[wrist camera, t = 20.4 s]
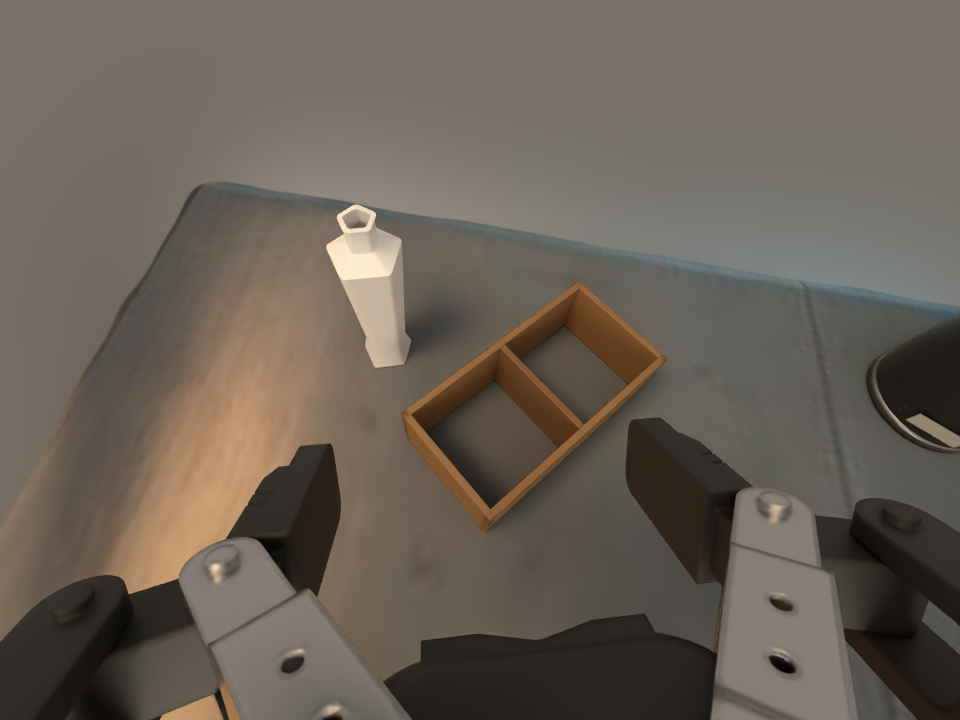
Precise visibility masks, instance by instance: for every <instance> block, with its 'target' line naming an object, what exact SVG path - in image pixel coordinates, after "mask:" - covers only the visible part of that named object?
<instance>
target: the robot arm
mask: <svg viewBox="0 0 960 720" xmlns="http://www.w3.org/2000/svg"><path fill="white" fill-rule="evenodd" d="M868 386H869V391H870V394H871V397H872V399H873V401H874V403H875V405H876V407H877V408H878V410H879V411H880V413H881V414H882V415H883V417H884V418H885V419H886V420H887V421H888V422H889V423H890V424H891V425H892V426H893V427H894V428H895V429H896V430H897V431H898V432H900V433H901V434H902V435H904V436H905V437H906V438H908V439H909V440H911V441H913V442H915V443H916V444H918V445H921V446H923V447H925V448H928V449H931V450H934V451H938V452H944V453H959V452H960V313H958V314H957V315H955V316H953V317H951V318H949V319H948V320H946V321H944V322H942V323H941V324H939V325H937V326H935V327H934V328H932V329H930V330H928V331H926V332H925V333H923V334H921V335H919V336H917V337H915V338H914V339H912V340H910V341H908V342H907V343H905V344H903V345H901V346H900V347H898V348H896V349H892V350H890V351H888V352H886V353H885V354H883V355H881V356H879V357H878V358H877V359H876V360H875V361H874V362H873V363H872V365H871V367H870V369H869V373H868ZM626 481H627V485H628V488H629V490H630V492H631V494H632V495H633V497H634V498H635V499H636V501H637V502H638V504H639V505H640V506H641V508H642V509H643V510H644V512H645V513H646V515H647V516H648V517H649V519H650V520H651V522H652V523H653V524H654V526H655V527H656V528H657V530H658V531H659V533H660V534H661V535H662V537H663V538H664V539H665V541H666V542H667V544H668V545H669V546H670V548H671V549H672V550H673V552H674V553H675V555H676V556H677V557H678V559H679V560H680V561H681V563H682V564H683V566H684V567H685V568H686V570H687V571H688V572H689V574H690V575H691V577H692V578H693V579H694V581H695V582H696V583H697V584H701V583H709V582H719V583H720V584H721V585H722V588H721V595H720V601H719V609H718V616H717V624H716V632H715V639H714V647H713V651H711V650H709V649H707V648H705V647H703V646H701V645H698V644H696V643H694V642H691V641H688V640H685V639H682V638H679V637H676V636H671V635H667V634H662V633H655V631H654V629H653V627H652V626H651V624H650V622H649V620H648V618H647V616H646V615H645V614H637V615H629V616H621V617H612V618H604V619H596V620H591V621H588V622H585V623H583V624H580V625H578V626H575V627H573V628H570V629H567V630H565V631H562V632H560V633H557V634H555V635H552V636H549V637H547V638H544V639H540V640H530V639H521V638H511V637H502V636H493V635H484V634H473V635H464V636H456V637H448V638H440V639H431V640H423V641H421V661H420V662H418V663H415V664H413V665H410V666H408V667H406V668H404V669H402V670H401V671H399V672H397V673H395V674H394V675H392V676H391V677H389V678H388V679H386V680H385V681H383V682H382V680H381V679H380V678H379V677H378V675H377V674H376V673H375V671H374V670H373V669H372V668H371V666H370V665H369V664H368V662H367V661H366V660H365V659H364V657H363V656H362V655H361V653H360V652H359V651H358V650H357V648H356V647H355V646H354V645H353V643H352V642H351V641H350V639H349V638H348V637H347V636H346V634H345V633H344V632H343V630H342V629H341V628H340V627H339V625H338V624H337V623H336V621H335V620H334V619H333V618H332V616H331V615H330V614H329V612H328V611H327V610H326V609H325V607H324V606H323V605H322V603H321V602H320V601H319V600H318V598H317V596H318V593H319V589H320V586H321V582H322V579H323V575H324V572H325V569H326V565H327V562H328V558H329V555H330V551H331V548H332V544H333V541H334V537H335V534H336V531H337V527H338V524H339V520H340V512H341V499H340V491H339V484H338V477H337V471H336V464H335V457H334V451H333V448H332V445H331V444H318V445H306V446H300V447H299V448H298V450H297V452H296V454H295V456H294V458H293V459H292V461H291V463H290V465H289V466H282V467H278V468H277V469H275V470H274V471H273V472H271V473H270V474H269V475H268V476H266V477H265V478H264V479H263V480H262V482H261V483H260V485H259V486H258V488H257V490H256V491H255V495H253V496H252V498H251V499H250V501H249V502H248V506H246V507H245V509H244V511H243V512H242V514H241V515H240V517H239V519H238V520H237V522H236V523H235V525H234V527H233V528H232V530H231V531H230V533H229V535H228V536H227V538H226V539H225V540H223V541H219V542H217V543H214V544H212V545H210V546H208V547H206V548H204V549H202V550H201V551H199V552H198V553H196V554H195V555H194V556H192V557H191V558H190V559H189V560H188V561H187V562H186V563H185V565H184V566H183V567H182V569H181V571H180V573H179V578H178V579H176V580H173V581H170V582H167V583H164V584H161V585H158V586H154V587H151V588H148V589H145V590H142V591H138V592H135V593H132V594H128V591H127V588H126V585H125V582H124V581H123V579H121V578H120V577H117V576H113V575H103V576H96V577H91V578H87V579H84V580H81V581H78V582H75V583H73V584H71V585H68V586H66V587H64V588H62V589H60V590H58V591H56V592H55V593H53V594H51V595H50V596H48V597H47V598H45V599H44V600H42V601H41V602H39V603H38V604H37V605H36V606H35V607H33V608H32V609H31V610H30V611H29V612H28V613H27V614H26V615H25V616H24V617H23V618H22V619H21V621H20V622H19V623H18V624H17V625H16V626H15V627H14V628H13V629H12V630H11V631H10V632H9V633H8V635H7V636H6V637H5V638H4V639H3V640H2V641H1V642H0V720H160V718H161V716H162V715H163V714H166V713H168V712H171V711H173V710H176V709H178V708H180V707H183V706H185V705H188V704H190V703H193V702H195V701H198V700H200V699H202V698H205V697H207V696H210V695H213V698H214V701H215V703H216V706H217V709H218V711H219V714H220V716H221V719H222V720H858V715H857V709H856V703H855V697H854V691H853V685H852V679H851V673H850V667H849V661H848V655H847V649H846V642H845V640H846V641H847V642H848V643H849V645H850V646H851V647H852V648H853V649H854V650H855V651H856V652H857V653H858V654H859V656H860V657H861V658H862V659H863V660H864V661H865V662H866V663H867V664H868V665H869V667H870V668H871V669H872V670H873V671H874V672H875V673H876V674H877V675H878V677H879V678H880V679H881V680H882V681H883V682H884V683H885V684H886V685H887V686H888V688H889V689H890V690H891V691H892V692H893V693H894V694H895V695H896V696H897V697H898V699H899V700H900V701H901V702H902V703H903V704H904V705H905V706H906V707H907V708H908V710H909V711H910V712H911V713H912V714H913V715H914V716H915V717H916V718H917V719H918V720H960V655H959V654H958V653H957V652H956V651H955V650H954V649H953V648H951V647H950V646H949V645H948V644H947V643H946V642H945V641H943V640H942V639H941V638H940V637H939V636H938V635H937V634H936V633H934V632H933V631H932V630H931V629H930V628H929V627H928V626H926V625H925V624H924V623H923V622H922V618H923V615H924V612H925V609H926V606H927V603H928V600H930V601H931V602H932V603H933V604H934V605H936V606H937V607H938V608H939V609H941V610H942V611H943V612H944V613H945V614H947V615H948V616H949V617H950V618H951V619H953V620H954V621H955V622H956V623H957V624H958V625H959V626H960V533H959V532H957V531H955V530H954V529H952V528H951V527H949V526H948V525H946V524H945V523H943V522H941V521H940V520H938V519H937V518H935V517H933V516H932V515H930V514H928V513H926V512H924V511H922V510H920V509H918V508H915V507H913V506H910V505H907V504H904V503H901V502H897V501H892V500H887V499H879V498H868V499H863V500H860V501H858V502H857V503H856V506H855V510H854V514H853V518H852V519H843V518H834V517H824V516H815V515H814V512H813V511H812V509H811V508H810V507H809V506H808V505H807V504H806V503H804V502H803V501H801V500H800V499H798V498H796V497H795V496H793V495H790V494H788V493H785V492H782V491H779V490H775V489H771V488H764V487H753V486H752V485H750V484H749V483H748V482H747V481H746V480H744V479H743V478H742V477H741V476H740V475H739V474H737V473H736V472H735V471H734V470H733V469H731V468H730V467H729V466H728V465H727V464H725V463H722V460H721V459H719V458H718V457H717V456H716V455H715V454H712V452H711V451H710V450H709V449H708V448H706V447H705V446H704V445H703V444H702V443H700V442H699V441H697V440H695V439H693V438H690V437H688V436H686V435H684V434H682V433H680V434H679V433H678V432H677V431H676V430H674V429H673V428H672V427H671V426H670V425H669V424H668V423H666V422H665V421H664V420H663V419H662V418H647V419H634V420H632V421H631V422H630V424H629V429H628V442H627V456H626Z"/></svg>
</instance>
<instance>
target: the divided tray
mask: <svg viewBox="0 0 960 720" xmlns="http://www.w3.org/2000/svg"><path fill="white" fill-rule="evenodd" d="M563 325H565V326H566V327H567V328H568V329H569V330H570V331H572V332H573V333H574V334H575V335H576V336H577V337H578V338H579V339H580V340H581V341H582V342H583V343H584V344H586V345H587V346H588V347H589V348H590V349H591V350H592V351H593V352H594V353H595V354H596V355H597V356H598V357H600V358H601V359H602V360H603V361H604V362H605V363H606V364H607V365H608V366H609V367H610V368H611V369H613V370H614V371H615V372H616V373H617V374H618V375H619V376H620V377H621V378H622V379H623V380H624V381H625V382H627V383H628V384H629V385H628V386H626V387H625V388H624V389H623V390H622V391H621V392H620V393H619V394H618V395H616V396H615V397H614V398H613V399H612V400H611V401H610V402H609V403H608V404H606V405H605V406H604V407H603V408H602V409H601V410H600V411H599V412H598V413H597V414H595V415H594V416H593V417H592V418H591V419H590V420H589V421H588V422H587V423H585V424H583V423H582V422H581V421H580V420H579V419H578V418H577V417H576V416H575V415H574V414H573V413H572V412H571V411H570V410H569V409H568V408H567V407H566V406H565V405H564V404H563V403H562V402H561V401H560V400H559V399H558V398H557V397H556V396H555V395H554V394H553V393H552V392H551V390H550V389H549V388H548V387H547V386H546V385H545V384H544V383H543V382H542V381H541V380H540V379H539V378H538V377H537V376H536V375H535V374H534V373H533V372H532V371H531V370H530V369H529V368H528V367H527V366H526V365H525V364H524V363H523V362H522V361H521V360H520V359H521V358H522V357H524V356H525V355H526V354H527V353H529V352H530V351H531V350H533V349H534V348H535V347H536V346H538V345H539V344H540V343H542V342H543V341H544V340H545V339H547V338H548V337H549V336H551V335H552V334H553V333H554V332H556V331H557V330H558V329H560V328H561V327H562V326H563ZM666 360H667V358H666V357H665V356H664V355H663V354H662V353H660V352H659V351H658V350H657V349H656V348H655V347H654V346H652V345H651V344H650V343H649V342H648V341H647V340H646V339H644V338H643V337H642V336H641V335H640V334H639V333H638V332H636V331H635V330H634V329H633V328H632V327H631V326H629V325H628V324H627V323H626V322H625V321H624V320H623V319H621V318H620V317H619V316H618V315H617V314H616V313H615V312H613V311H612V310H611V309H610V308H609V307H608V306H607V305H605V304H604V303H603V302H602V301H601V300H600V299H599V298H597V297H596V296H595V295H594V294H593V293H592V292H591V291H589V290H588V289H587V288H586V287H585V286H584V285H583V284H581V283H580V282H578V283H576V284H575V285H574V286H572V287H571V288H570V289H568V290H567V291H566V292H564V293H563V294H561V295H560V296H559V297H557V298H556V299H555V300H553V301H552V302H551V303H549V304H548V305H547V306H545V307H544V308H543V309H541V310H540V311H539V312H537V313H536V314H535V315H533V316H532V317H530V318H529V319H528V320H526V321H525V322H524V323H522V324H521V325H520V326H518V327H517V328H516V329H514V330H513V331H512V332H510V333H509V334H508V335H506V336H505V337H503V338H502V339H501V340H499V341H498V342H497V343H495V344H494V345H493V346H491V347H490V348H489V349H487V350H486V351H485V352H483V353H482V354H481V355H479V356H478V357H477V358H475V359H474V360H472V361H471V362H470V363H468V364H467V365H466V366H464V367H463V368H462V369H460V370H459V371H458V372H456V373H455V374H454V375H452V376H451V377H450V378H448V379H447V380H445V381H444V382H443V383H441V384H440V385H439V386H437V387H436V388H435V389H433V390H432V391H431V392H429V393H428V394H427V395H425V396H424V397H423V398H421V399H420V400H419V401H417V402H416V403H414V404H413V405H412V406H410V407H409V408H408V409H406V410H405V411H404V412H402V413H401V416H402V419H403V423H404V427H405V430H406V434H407V438H408V440H409V441H410V442H411V444H412V445H413V446H414V447H415V449H416V450H417V451H418V452H419V453H420V455H421V456H422V457H423V458H424V460H425V461H426V462H427V463H428V464H429V466H430V467H431V468H432V469H433V471H434V472H435V473H436V474H437V475H438V477H439V478H440V479H441V480H442V482H443V483H444V484H445V485H446V486H447V488H448V489H449V490H450V491H451V493H452V494H453V495H454V496H455V497H456V499H457V500H458V501H459V502H460V504H461V505H462V506H463V507H464V509H465V510H466V511H467V512H468V513H469V515H470V516H471V517H472V518H473V520H474V521H475V522H476V523H477V524H478V526H479V527H480V528H481V529H482V531H483V532H485V531H487V530H488V529H489V528H490V527H491V526H492V525H493V524H494V523H495V522H496V521H497V520H499V519H500V518H501V517H502V516H503V515H504V514H505V513H506V512H507V511H508V510H509V509H510V508H512V507H513V506H514V505H515V504H516V503H517V502H518V501H519V500H520V499H521V498H522V497H524V496H525V495H526V494H527V493H528V492H529V491H530V490H531V489H532V488H533V487H534V486H535V485H537V484H538V483H539V482H540V481H541V480H542V479H543V478H544V477H545V476H546V475H547V474H549V473H550V472H551V471H552V470H553V469H554V468H555V467H556V466H557V465H558V464H559V463H560V462H562V461H563V460H564V459H565V458H566V457H567V456H568V455H569V454H570V453H571V452H572V451H574V450H575V449H576V448H577V447H578V446H579V445H580V444H581V443H582V442H583V441H584V440H585V439H587V438H588V437H589V436H590V435H591V434H592V433H593V432H594V431H595V430H596V429H597V428H599V427H600V426H601V425H602V424H603V423H604V422H605V421H606V420H607V419H608V418H609V417H610V416H612V415H613V414H614V413H615V412H616V411H617V410H618V409H619V408H620V407H621V406H622V405H624V404H625V403H626V402H627V401H628V400H629V399H630V398H631V397H632V396H633V395H634V394H635V393H637V392H638V391H639V390H640V389H641V388H642V387H643V386H644V384H645V383H646V382H647V381H648V380H649V379H650V378H651V377H652V375H653V374H654V373H655V372H656V371H657V370H658V369H659V368H660V367H661V365H662V364H663V363H664V362H665V361H666ZM493 380H494V381H495V382H496V383H497V384H498V385H499V386H500V387H501V388H502V389H503V390H504V391H505V392H506V393H507V394H508V395H509V396H510V397H511V398H512V399H513V401H514V402H515V403H516V404H517V405H518V406H519V407H520V408H521V409H522V410H523V411H524V412H525V413H526V414H527V415H528V416H529V417H530V418H531V419H532V421H533V422H534V423H535V424H536V425H537V426H538V427H539V428H540V429H541V430H542V431H543V432H544V433H545V434H546V435H547V436H548V437H549V438H550V439H551V441H552V442H553V443H554V444H555V445H556V446H557V447H558V449H557V450H555V451H554V452H553V453H552V454H551V455H550V456H549V457H548V458H547V459H546V460H544V461H543V462H542V463H541V464H540V465H539V466H538V467H537V468H536V469H534V470H533V471H532V472H531V473H530V474H529V475H528V476H527V477H526V478H524V479H523V480H522V481H521V482H520V483H519V484H518V485H517V486H516V487H514V488H513V489H512V490H511V491H510V492H509V493H508V494H507V495H506V496H505V497H503V498H502V499H501V500H500V501H499V502H498V503H497V504H496V505H495V506H493V507H492V508H491V509H490V508H489V507H488V506H487V504H486V503H485V502H484V501H483V500H482V499H481V497H480V496H479V495H478V494H477V493H476V491H475V490H474V489H473V488H472V487H471V485H470V484H469V483H468V482H467V481H466V479H465V478H464V477H463V476H462V475H461V473H460V472H459V471H458V470H457V469H456V468H455V466H454V465H453V464H452V463H451V462H450V460H449V459H448V458H447V457H446V456H445V454H444V453H443V452H442V451H441V450H440V448H439V447H438V446H437V445H436V444H435V443H434V441H433V440H432V439H431V438H430V437H429V435H428V434H427V433H426V432H427V431H428V430H430V429H431V428H432V427H433V426H435V425H436V424H437V423H439V422H440V421H441V420H442V419H444V418H445V417H446V416H448V415H449V414H450V413H451V412H453V411H454V410H455V409H457V408H458V407H459V406H460V405H462V404H463V403H464V402H466V401H467V400H468V399H469V398H471V397H472V396H473V395H475V394H476V393H477V392H478V391H480V390H481V389H482V388H484V387H485V386H486V385H487V384H489V383H490V382H491V381H493Z"/></svg>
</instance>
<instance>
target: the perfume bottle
mask: <svg viewBox="0 0 960 720" xmlns="http://www.w3.org/2000/svg"><path fill="white" fill-rule="evenodd" d="M375 217H376V214H375V212H373V211H371V210H369V209H366V208H364V207H362V206H360V205H353V206H351V207H350V208H348V209H346V210H345V211H343V212H341V213H340V214H339V215H337V220H338V222H339V224H340V226H341V228H342V230H343V232H344V234H343V235H342V236H340V237H338V238H337V239H335V240H334V241H332V242H330V243H329V244H328V245H327V246H326V248H327V251H328V253H329V255H330V257H331V260H332V262H333V264H334V266H335V268H336V271H337V273H338V275H339V277H340V280H341V282H342V284H343V286H344V288H345V291H346V293H347V295H348V297H349V299H350V302H351V304H352V306H353V308H354V311H355V313H356V315H357V317H358V319H359V322H360V324H361V326H362V328H363V330H364V333H365V335H366V337H367V338H366V343H365V347H366V349H367V351H368V354H369V356H370V358H371V360H372V362H373V365H374V366H375V367H376V368H380V367H388V366H397V365H403V364H405V362H406V359H407V355H408V351H409V348H410V344H411V339H410V338H409V337H408V335H407V334H406V333H405V316H404V292H403V267H402V242H401V239H400V238H398V237H396V236H393V235H391V234H389V233H387V232H384V231H382V230H380V229H378V228H376V226H375V221H374V220H375Z"/></svg>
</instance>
